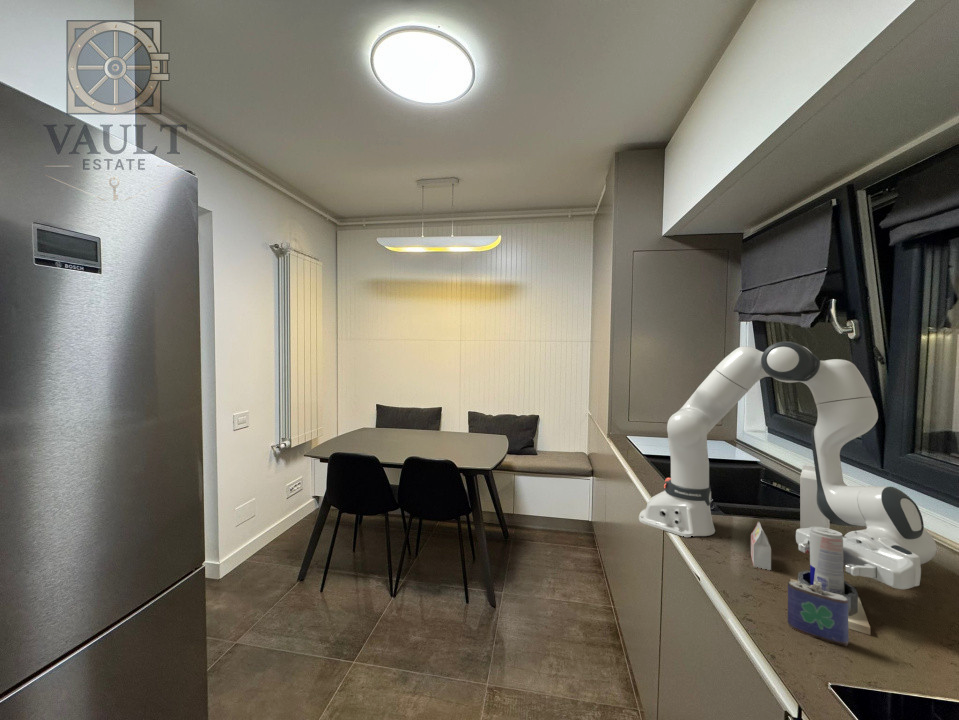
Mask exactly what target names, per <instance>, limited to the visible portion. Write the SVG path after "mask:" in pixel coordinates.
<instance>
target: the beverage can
mask: <svg viewBox="0 0 959 720" xmlns="http://www.w3.org/2000/svg"><path fill="white" fill-rule="evenodd" d="M809 535H810V553H809V571H810V584H811V585H813V584H814V582H816V581H819V582H821V583H822V588H821V589H822V590H824V591H827V592H831V593H835V594H844V581H845V573H844V572H845V570H844V568H845V567H844V566H845V565H844V559H843V538H842V537H843V533H842V532H840V531H838V530H835V529H831V528H830V529H828V528H823V527H810V532H809Z"/></svg>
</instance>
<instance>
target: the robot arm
mask: <svg viewBox="0 0 959 720" xmlns="http://www.w3.org/2000/svg"><path fill="white" fill-rule="evenodd" d="M861 373H862V372H860V370H859V369H858V367H857V366H856V365H855V364H854V363H853V362H852V361H850V360H846V359H841V358H840V359H839V358H835V359H826V360H821V359H820V358H819V357H818V356H816V355H815V354H813V352H812V351H811V350H809V348H807V347H805V346H803V345H801V344H799V343H797V342H794V341H793V342H792V341H779V342H778V341H777V342H775V343H773V344H770V345H769V346H768V347H767V348H766V349H765V350H764V351H761V350H759V349H757V348H754V347H752V346H747V345H746V346H744V345H742V346H739V347H737V348H736V349H734V350H733V351H731V352H730V353H729V354H728V355H727V356H725V357H724V358H723V359H722V360H721V361H720V362H719V363H718V364H717V365H716V366H715V368H714V369H713V370H712V371H711V372H709V374H708V376H706V378H705V379H704V380H703V381H702V382H701V383H700V384H699V386H698V387H697V388H696V390H695V391H694V392H693V393H692V394H691V395H690V397H689V398H688V399H687V401H686V402H685V403H684V404H683V405H682V406H681V407H680V409H679V410H678V411H676V412H675V413H673V414H672V415H671V416H670V417H669V418H668V421H667V426H666V431H667V441H668V450H669V457H670V477H666V478H665V480H664V483H663V484H664V485H663V488H664V490H663V491H661V492H659V493H657V494H655V495H653V496H652V497H651V498H649V500H647V504H646V507H645V508H643V509H642V510H641V511H640V513H639V515H638V520H639V522H640V523H641V524H644V525H646V526H649V527H652V528H656V529H659V530H662V531H665V532H669V533H671V534H674V535H677V536H681V537H683V536H684V538H691V536H693V537H707V536H708V537H709V536H712V535H714V534H715V532H716V529H715V526H714V523H713V518H712V512H711V503H712V491H711V490H712V489H711V488H712V487H711V485H710V461H709V451H708V434H709V433H710V432H711V430H712V429H714V427H716V425H717V424H719V423H720V421H721V420H723V418H725V416H726V415H727V414H728V413H729V412H730V411H731V410H732V409H733V408H734V407H735V406H736V404H738V402H739V401H740V400H741V399H742V398H744V396H745V395H746V394H747V393H748V392H749V391H750V390H751V389H752V388H753V387H754V386H755V384H756V383H757V382H759V381H760V380H762V379H763V378H767V377H768V378H771V379H774V380H777V382H778V381H779V382H781V383H789V384H799V383H803V384H804V385H806V386H807V387H808V388H809V390H810V392H811V395H812V397H813V399H814V400H813V401H814V403H815V406H816V410H817V420H816V423H815V425H814V426H813V427H812V429H811V432H810V440H811V448H812V456H813V466H814V467H815V472H816V479H817V505H818V508H819V510H820V511H821V512H822V514H823V515H824V516H825V517H826V518H827V519H829V520H830V522H831V523H833V524H835V525H836V526H841V527H845V526H846V527H859V526H860V527H866V528H865V529H859V530H852V531H851V530H850V531H848V532H847V533H845V535H844V536H842V538H843V559H844V566H845V567H844V568H845V570H844V572H845V573H846V574H848V575H850V576H853V577H857V576H858V577H859V576H860V577H864V578H870V579H873V580H875V581H877V582H880V583H883V584H884V585H887V586H889V587H890V588H894V589H898V590H907V589H911V588H914V587H919V586H920V583H921V577H922V567H921V565H923V564H924V565H925V564H926V563H928V562H929V561H931V560H932V559H933V558H934V557H935V555H936V554H937V549H938V548H937V543H936V541H935V539H934V538H933V536H932V535H931V534H930V533H929V532H928V531H927V530H925V529H924V528H925V527H924V518H923V516H922V512H921V510H920V508H919V506H918V504H917V503H916V502H915V501H914V500H913V499H912V498H911V497H910V496H909V495H908V494H906V493H905V492H903V491H902V490H900V489H899V488H897V487H894V486H885V485H884V486H882V485H879V486H878V485H865V486H864V485H848V484H846V483H845V482H844V476H843V470H842V469H843V468H842V462H841V454H840V453H841V449H842V448H843V447H844V445H846V444H847V443H849V442H851V441H852V440H855V439H857V438H858V437H862V436H863V435H864V434H866V433H868V432H869V431H870V430H872V429H873V427H874V426H875V425H876V423H877V422H878V419H879V412H878V407H877V405H876V402H875V400H874V398H873V395H872V393H871V389H870V387H869V385H868V384H867V382H866V380H865V378H864V376H863V375H862V374H861ZM809 532H810V528H801V529H800V528H797V529H796V530H795V542H796V544H797V546H798V547H797V549H798V551H800V552H801V553H804V554H810V535H809Z"/></svg>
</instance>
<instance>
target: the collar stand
mask: <svg viewBox="0 0 959 720" xmlns="http://www.w3.org/2000/svg"><path fill="white" fill-rule="evenodd" d="M790 581H794V582H798V581H800V582H801V584H806V585H808V586H810V585H811V584H810V570H803V571H800V572H798V573H797V579H793V578H790ZM823 591H824V590H823ZM840 595H843V596H844V597H846V598H847V599H848V630H853V631H855V632H859V633H862V634H865V635H869V636H871V626H870V624H869V621H868V618H867V615H866V612H865V610H864V606H863V605H862V601H861V598H860V597H859V594H858V591H857V588H856V587H854V586H853V585H852V584H850V583H849V582H848V581H846V580H844V594H840Z"/></svg>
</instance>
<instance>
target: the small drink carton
mask: <svg viewBox="0 0 959 720" xmlns="http://www.w3.org/2000/svg"><path fill="white" fill-rule="evenodd" d="M763 529H764V528H762V525H761V522H760V521H757V523H756V525H755V527H754V528H753V530H752V532H751V533H750V556H751V557H750V558H751V562H752V566H753V567H754V568H757V567H758V568H757V569H761V568H762V570H765V569H767V570H766V571H770V570H771V571H772V548H771V547H772V546H771V544H770V542H769V539H768V536H767V535H766V533H765V531H764V530H763Z"/></svg>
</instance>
